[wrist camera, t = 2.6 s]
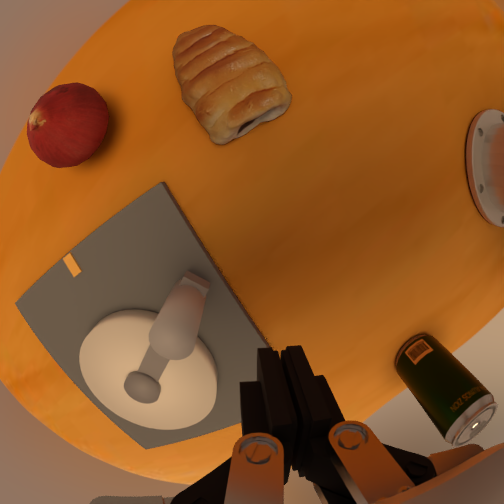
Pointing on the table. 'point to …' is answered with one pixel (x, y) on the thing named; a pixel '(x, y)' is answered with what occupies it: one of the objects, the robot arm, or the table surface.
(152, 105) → the table surface
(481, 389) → the beer can
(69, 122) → the onion
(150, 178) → the table surface
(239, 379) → the base plate
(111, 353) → the dial
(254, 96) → the pastry
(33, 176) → the table surface
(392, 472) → the robot arm
